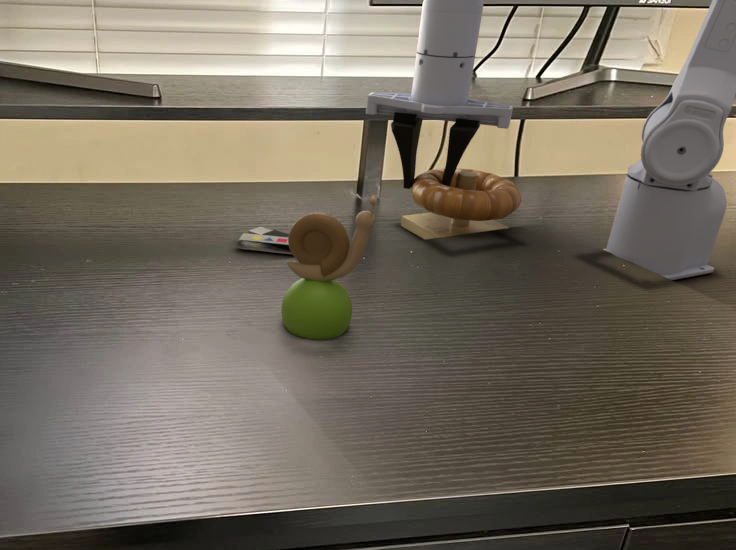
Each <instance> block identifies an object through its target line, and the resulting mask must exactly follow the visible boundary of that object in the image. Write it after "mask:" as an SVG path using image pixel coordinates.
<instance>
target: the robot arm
mask: <svg viewBox="0 0 736 550" xmlns="http://www.w3.org/2000/svg"><path fill="white" fill-rule="evenodd" d="M483 1H484V0H423V2H422V7H421V13H420V21H419V29H418V30H419V31H418V38H417V39H418V40H417V47H416V54H415V61H414V62H415V63H414V69H413V79H412V86H411V93H390V92H374V91H372V92H371V93H368V94H367V97H366V108H365V114H366V115H372V116H373V115H387V116H393V118H392V122H391V123H390V129H391V132H392V135H393V137H394V140H395V144H396V146H397V149H398V154H399V157H400V163H401V169H402V179H403V181H402V182H403V187H402V188H403V189H405V190H406V189H407V190H411V185H412V182H413V180H414V179H415V178H416V177H415V176H416V168H417V167H416V164H417V153H418V146H419V141H420V135H421V130H422V125H423V120H424V119H425V120H434V121H443V122H451V123H453V122H454V123H453V124H452V125H451V126H450V127H449V133H448V144H447V153H446V161H445V166H444V169H445V170H444V175H443V179H442V183H441V184H443V185H445V186H450V185H451V182H452V178H453V176H454V173H455V170H456V168H457V169H458V166H459V164H460V161H461V159H462V157H463V155H464V153H465V152H466V150H467V148H468V147H469V145H470V143H471V141H472V139H474V136H475V135H476V134H477V132H478V130H479V128H480V127H481V126H482V125H483V126H491V127H496V128H499V129H504V130H508V129H509V128H510V125H511V120H512V115H513V109H514V105H512V104H511V105H510V104H502V103H494V102H490V101H489V102H488V101H482V100H476V99H471V98H469V97H470V90H471V85H472V79H473V72H474V67H475V61H476V54H477V46H478V42H479V35H480V29H481V23H482V16H483V11H484V2H483ZM735 99H736V0H711V3H710V5H709V7H708V9H707V12H706V14H705V16H704V18H703V21H702V24H701V25H700V28H699V30H698V32H697V35H696V37H695V39H694V42H693V44H692V45H691V48H690V51H689V53H688V55H687V57H686V59H685V61H684V64H683V65H682V66H681V69H680V71H679V73H678V74H677V76H676V77H675V79H674V81H673V83H672V86H671V88H670V90H669V93H668V94H667V96H665V99H663V101H662V102H661V103H659V105H658V106H657V107H655V108H654V109H653V110H652V111H651V112H650V113H649V115H647V118H646V120H645V121H644V124H643V125H642V130H641V140H642V141H641V142H642V143H641V149H640V159H639V160H638V161H637V162H636V163H633V164H632V165H630V166H629V167H628V168H627V173H626V175H625V180H624V183H623V187H622V191H621V194H620V198H619V202H618V204H617V208H616V212H615V215H614V220H613V223H612V226H611V230H610V234H609V237H608V241H607V244H606V248H602V250H603V251H605V252H607V253H610V254H612V255H613V256H614V257H617V258H619V259H621V260H624V261H627V262H630V263H632V264H635V265H636V266H638V267H641V268H643V269H645V270H648V271H650V272H652V273H655V274H657V275H659V276H662V277H664V278H666V279H668V280H670V281H675V280H681V279H684V278H685V279H686V278H691V277H692V278H693V277H696V276H702V275H707V274H712V273H714V271H715V267H714V266H712V265H709V264H708V263H709V260H710V257H711V254H712V251H713V249H714V245H715V242H716V239H717V237H718V234H719V231H720V228H721V225H722V223H723V220H724V217H725V214H726V210H727V203H728V202H727V195H726V192H725V189H724V187H723V186H722V184H721V183H720V182H719V181H718V180H716V178H713V174H711V172H712V171H714V169H715V168H716V166H717V165H718V164H719V162H720V160H721V159H722V156H723V152H724V147H725V142H724V141H725V140H724V128H725V124H726V122H727V120H728V119H727V118H728V116H729V115H730V112H731V111H732V109H733V105H734V102H735Z"/></svg>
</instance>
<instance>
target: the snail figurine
mask: <svg viewBox="0 0 736 550" xmlns="http://www.w3.org/2000/svg"><path fill="white" fill-rule="evenodd" d="M377 203H378V195H377V194H372V195H371V196H370V198H369V204H370V205H371V206H372V211H370V210H362V211H360V212H358V214H356V217H355V231H354V234H353V237H352V239H351V241H350V238H349V234H348V231H347V230H346V228H345V226H344V224H343V223H342V222H341V221H339V220H338V218H336V217H335V216H332V215H331V214H327V213H324V212H311V213H306V214H305V215H303V216H301V217H299V218H298V219H296V220H295V222H294V223H293V224H292V226H291V228H290V229H289V232H288V234H289V237H288V244H289V248H290V251H291V253H292V254H291V255H292V256H293V257H294V258H295V259H296V261H295V260H287V261H286V265H287V267H288V268H289V270H291V272H293V273H294V275H296V276H297V277H298V278H300V279H297V280H296V281H295V282H294V283H292V284H291V285H290V286H289V288H288V289H287V290H286V292H285V293H284V296H283V299H282V301H281V310H280V311H281V312H280V313H281V318H282V322H283V325H284V327H285V329H287V331H288V332H290V333H291V334H293V335H295V336H298V337H301V338H304V339H309V340H330V339H334V338H337V337H340V336H342V335H343V334H344V333H345V332H346V330H348V327H349V326H350V323H351V321H352V316H353V303H352V299H351V297H350V294H349V292H348V290H347V289H346V288H345V287H344V285H343V284H342V283H340V282H339V281H338V279H340V278H344V277H345V276H348V275H349V274H350V273H352V272H353V271H354V270H355V269H356V267H357V266H358V264H359V263H360V261H361V259H362V257H363V255H364V253H365V251H366V247H367V245H368V242H369V239H370V235H371V232H372V230H373V228H374V227H375V221H376V218H377V217H376V216H375V213H374V211H375V206H376V205H377Z"/></svg>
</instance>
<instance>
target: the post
mask: <svg viewBox="0 0 736 550" xmlns="http://www.w3.org/2000/svg"><path fill="white" fill-rule="evenodd" d="M477 178H478V174H477V173H474V172H469V171H462V172H459V173H458V179H457V186H456V188H458V189H464V190H475V189H476V184H477ZM400 227H402V228H404V229H405V230H407V231H409V232H411V233H412V234H414V235H415V236H417V237H419V238H421V239H423V240H431V239H432V240H433V239H437V238H439V239H440V238H446V237H453V236H461V235H468V234H475V233H481V232H489V231H496V230H505V229H510V227H508V226H507V225H505V224H503V223H500V222H498V221H496V220H487V221H472V220H460V219H453V218H449V217H445V216H441V215H437V214H434V213H431V212H430V211H428V212H421V213H413V214H404V215H401V220H400Z"/></svg>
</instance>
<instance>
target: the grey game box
mask: <svg viewBox="0 0 736 550" xmlns="http://www.w3.org/2000/svg"><path fill="white" fill-rule="evenodd" d="M288 237H289V233H286V232H282V231H280V230H277V229H270V228H267V227H263V226H258V227H255V228H252V229H249V230H248V233H247V232H244V233H242V235H240V237H239V239H238V240H237V242H236V246H237V248H238V249H240V250H247V251H248V250H249V251H256V252H258V251H259V252H267V253H274V254H275V253H277V254H283V255H284V254H285V255H293V254H292V253H291V251H290V248H289V244H288Z"/></svg>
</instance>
